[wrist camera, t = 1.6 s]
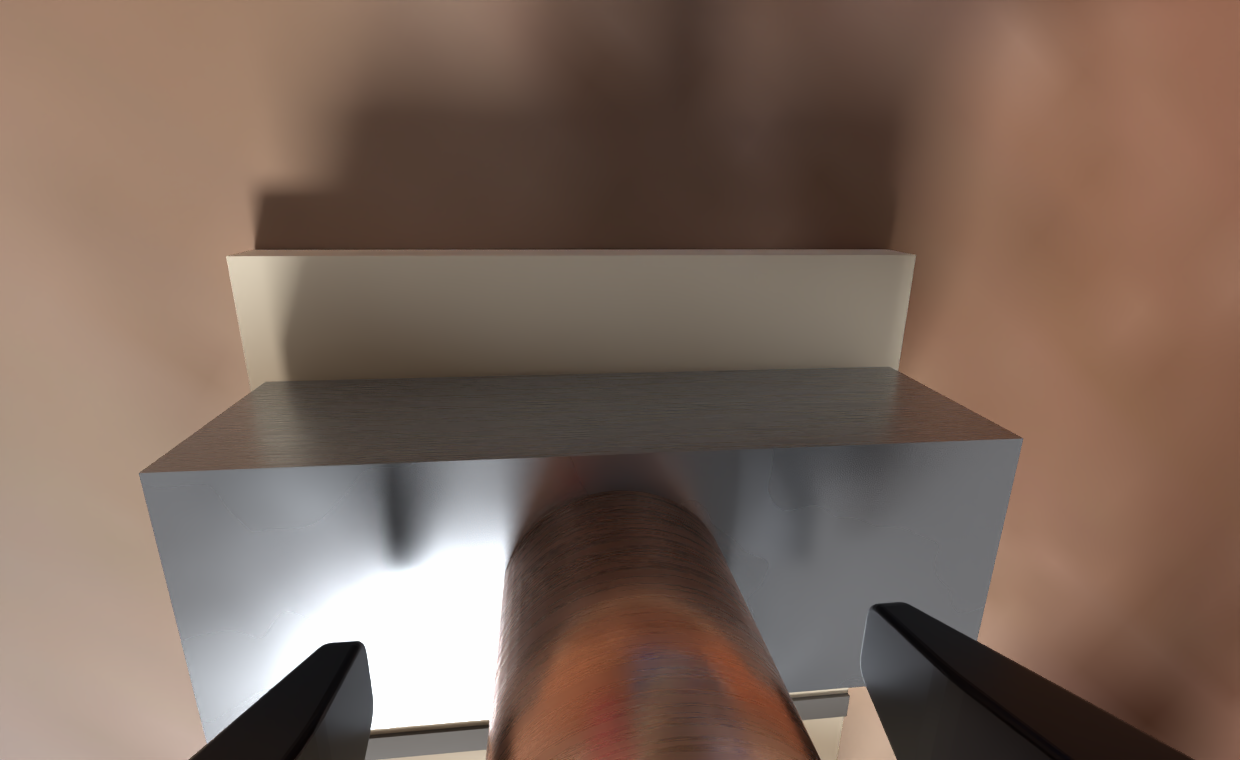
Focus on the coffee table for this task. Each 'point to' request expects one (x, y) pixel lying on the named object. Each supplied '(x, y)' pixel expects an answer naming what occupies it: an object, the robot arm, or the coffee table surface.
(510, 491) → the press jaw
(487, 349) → the press base
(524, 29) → the coffee table surface
